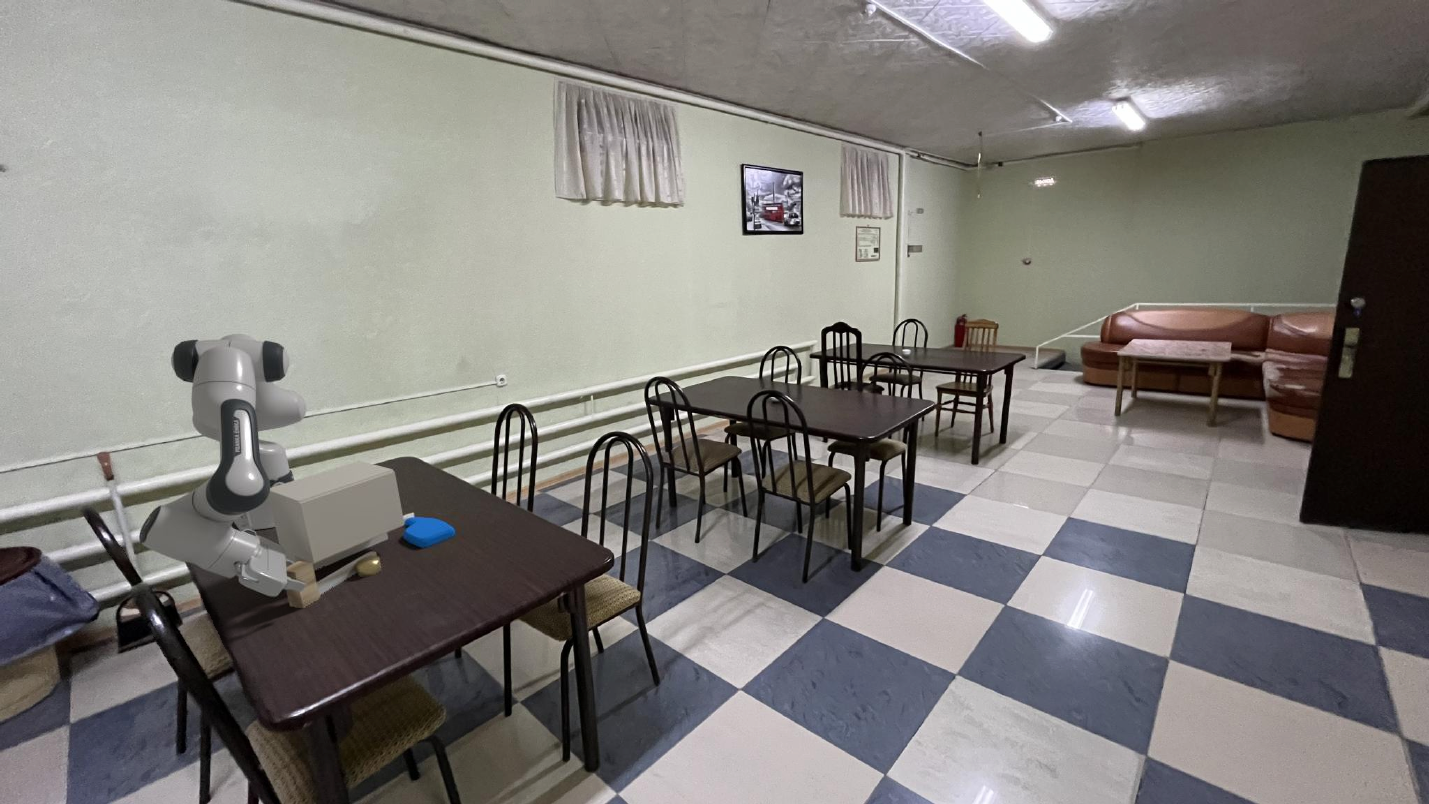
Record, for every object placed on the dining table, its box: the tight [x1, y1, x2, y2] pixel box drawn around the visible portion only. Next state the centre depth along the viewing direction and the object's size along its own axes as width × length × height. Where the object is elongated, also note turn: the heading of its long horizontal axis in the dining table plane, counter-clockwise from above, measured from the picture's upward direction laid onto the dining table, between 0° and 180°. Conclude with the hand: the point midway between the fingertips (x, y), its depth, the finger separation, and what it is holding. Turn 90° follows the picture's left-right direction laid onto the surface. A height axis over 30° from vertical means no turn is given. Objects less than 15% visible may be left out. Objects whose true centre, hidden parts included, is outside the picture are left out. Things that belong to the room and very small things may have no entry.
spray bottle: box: [403, 512, 456, 549], centre depth 161 cm, size 3×11×24 cm
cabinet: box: [268, 460, 405, 572], centre depth 144 cm, size 17×22×22 cm
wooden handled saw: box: [285, 550, 378, 609], centre depth 134 cm, size 4×21×9 cm, turn 164°
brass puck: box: [356, 555, 382, 578], centre depth 139 cm, size 5×5×3 cm
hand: (302, 579), depth 126 cm, fingers open, 7 cm apart
